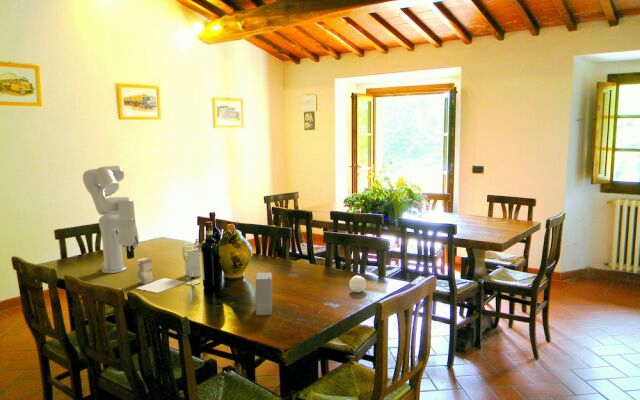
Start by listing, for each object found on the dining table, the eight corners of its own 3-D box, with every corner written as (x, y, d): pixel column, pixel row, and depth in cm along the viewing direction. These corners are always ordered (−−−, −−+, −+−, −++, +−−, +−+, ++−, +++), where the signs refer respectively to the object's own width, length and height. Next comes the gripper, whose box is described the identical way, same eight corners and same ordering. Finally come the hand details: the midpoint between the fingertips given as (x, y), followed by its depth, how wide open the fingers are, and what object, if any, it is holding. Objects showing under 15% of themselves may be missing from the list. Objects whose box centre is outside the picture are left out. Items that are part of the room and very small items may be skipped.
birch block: (138, 283, 239) (136, 260, 237) (146, 280, 243) (144, 257, 241) (145, 284, 236) (143, 261, 235) (153, 281, 241) (151, 258, 239)
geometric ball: (353, 298, 218) (343, 284, 218) (361, 287, 224) (351, 274, 224) (364, 293, 213) (353, 280, 213) (372, 283, 219) (361, 269, 218)
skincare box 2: (256, 308, 201) (255, 272, 199) (273, 307, 202) (272, 271, 199) (255, 316, 193) (253, 278, 190) (273, 315, 193) (271, 277, 191)
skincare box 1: (201, 276, 248) (199, 249, 245) (189, 278, 244) (188, 250, 242) (195, 272, 254) (194, 246, 252) (184, 275, 251) (183, 247, 249)
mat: (135, 288, 230) (135, 288, 230) (164, 278, 246) (164, 277, 246) (157, 293, 223) (157, 292, 223) (185, 282, 239) (185, 281, 239)
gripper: (111, 223, 240) (114, 258, 243) (131, 225, 233) (134, 261, 235) (123, 221, 247) (127, 255, 249) (143, 222, 240) (146, 257, 242)
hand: (130, 258), depth 242 cm, fingers closed
